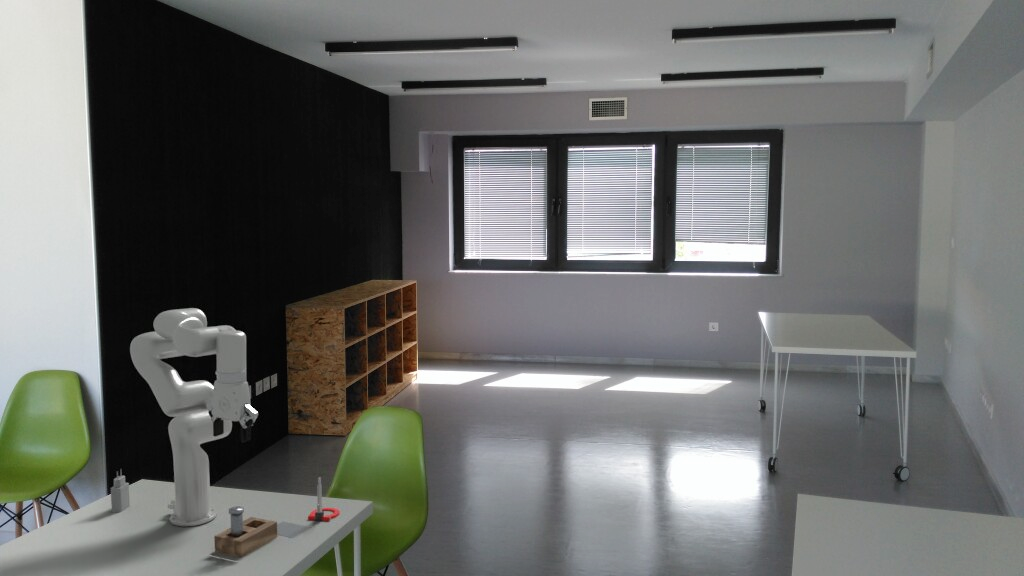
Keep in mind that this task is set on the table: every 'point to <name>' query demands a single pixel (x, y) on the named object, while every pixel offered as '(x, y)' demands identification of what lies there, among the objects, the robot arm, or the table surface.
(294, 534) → the mat
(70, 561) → the table surface
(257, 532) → the block
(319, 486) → the tow hook
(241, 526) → the pin
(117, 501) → the power adapter
